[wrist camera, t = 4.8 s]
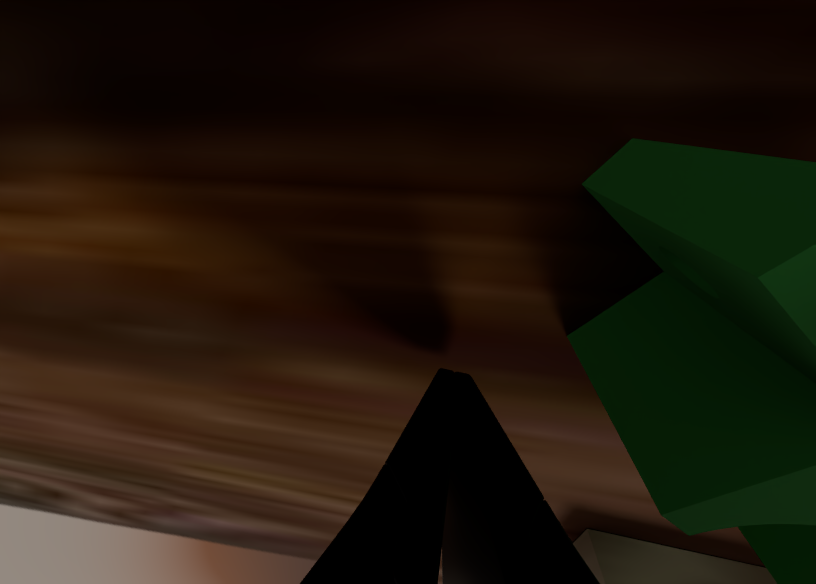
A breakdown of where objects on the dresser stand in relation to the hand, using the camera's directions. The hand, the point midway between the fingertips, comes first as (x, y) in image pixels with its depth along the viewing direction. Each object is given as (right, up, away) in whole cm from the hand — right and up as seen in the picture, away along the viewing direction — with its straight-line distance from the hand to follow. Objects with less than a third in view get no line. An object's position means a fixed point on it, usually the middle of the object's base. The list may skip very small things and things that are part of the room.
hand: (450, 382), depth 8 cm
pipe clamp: (+6, +1, 0) cm, 6 cm away
